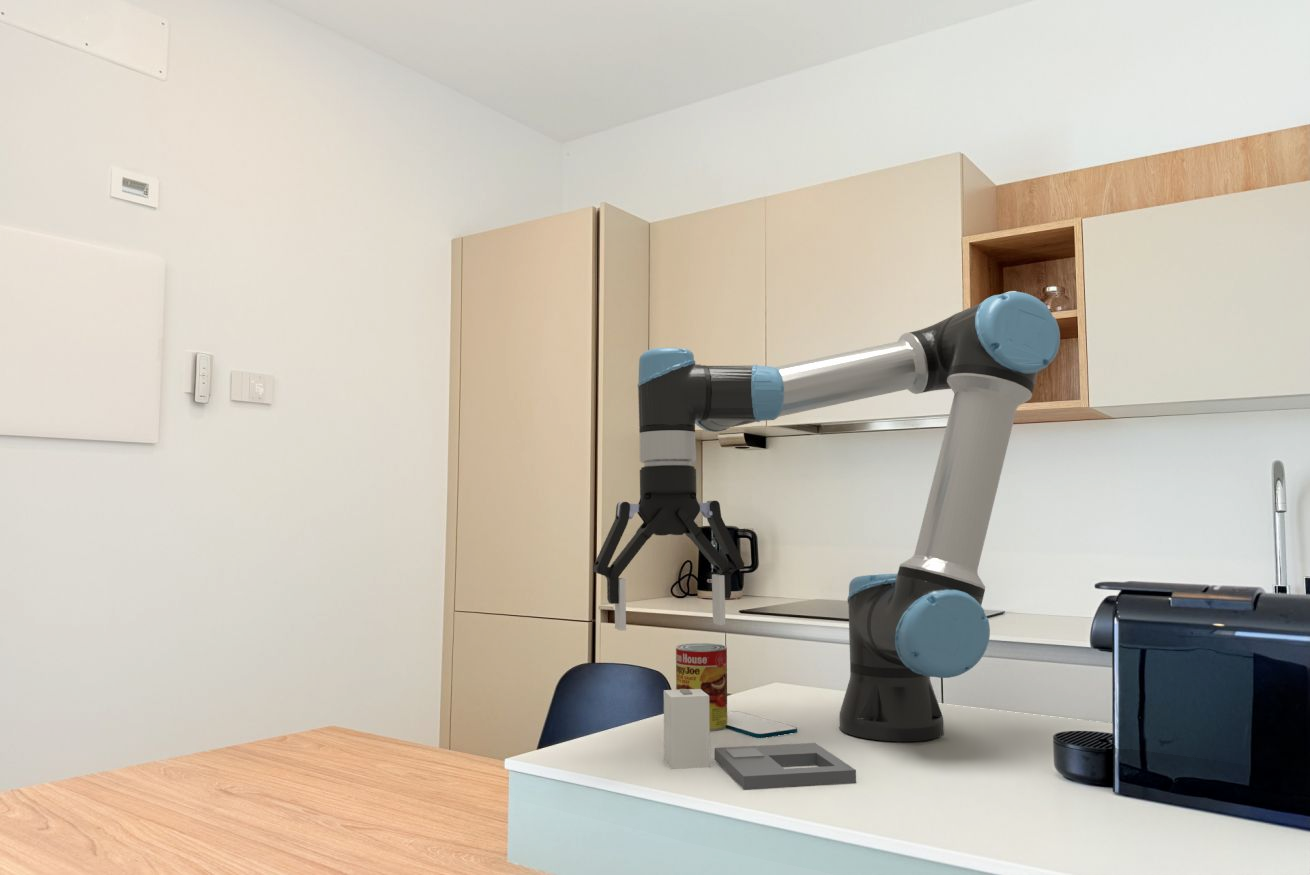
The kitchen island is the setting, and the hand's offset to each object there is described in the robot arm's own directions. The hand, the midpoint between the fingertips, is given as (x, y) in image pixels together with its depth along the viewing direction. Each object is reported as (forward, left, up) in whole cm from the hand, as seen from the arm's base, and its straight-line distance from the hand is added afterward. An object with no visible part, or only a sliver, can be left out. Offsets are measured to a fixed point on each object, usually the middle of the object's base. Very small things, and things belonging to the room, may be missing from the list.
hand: (670, 627), depth 123 cm
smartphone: (-16, -20, -18) cm, 32 cm away
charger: (-2, 0, -18) cm, 18 cm away
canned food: (-9, -21, -18) cm, 29 cm away
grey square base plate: (-13, +6, -18) cm, 23 cm away
